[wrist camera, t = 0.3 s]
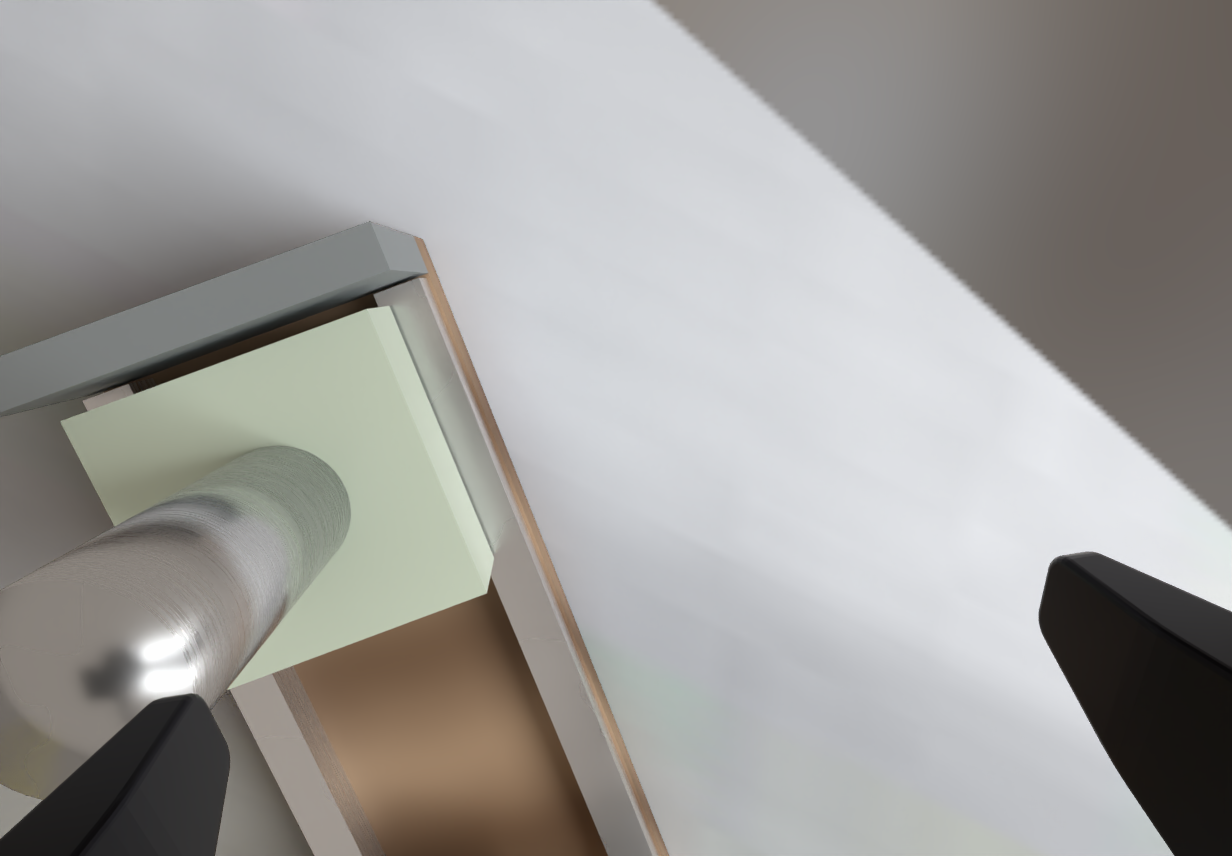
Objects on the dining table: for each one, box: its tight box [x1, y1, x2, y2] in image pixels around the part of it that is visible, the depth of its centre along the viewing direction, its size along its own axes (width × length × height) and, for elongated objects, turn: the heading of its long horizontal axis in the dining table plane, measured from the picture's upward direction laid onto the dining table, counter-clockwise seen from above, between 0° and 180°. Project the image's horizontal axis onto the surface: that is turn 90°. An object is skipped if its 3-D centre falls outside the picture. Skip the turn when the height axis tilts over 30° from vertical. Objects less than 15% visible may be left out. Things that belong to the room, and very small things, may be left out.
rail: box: [0, 221, 669, 856], centre depth 20 cm, size 23×9×8 cm, turn 20°
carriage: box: [0, 306, 494, 800], centre depth 15 cm, size 7×7×10 cm
